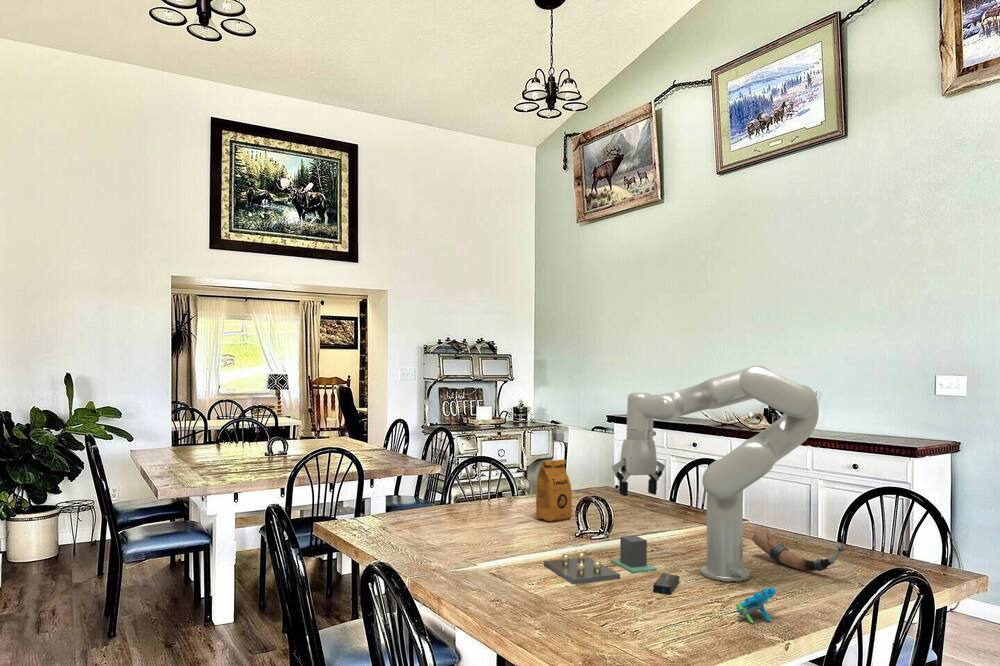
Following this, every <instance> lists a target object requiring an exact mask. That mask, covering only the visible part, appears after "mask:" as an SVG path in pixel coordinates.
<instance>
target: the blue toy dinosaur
mask: <svg viewBox="0 0 1000 666" xmlns="http://www.w3.org/2000/svg"><path fill="white" fill-rule="evenodd" d="M775 594H777V591H776V589H775V588H774V586H771V587H769V588H767V587H765V588H764V589H762V590H761V592H759V591H756V592H755V593H753V594H752V595H753V596H748V597H746V598H745V599H744V602H743V601H742V602H739V603H736V604H735V607H736V608H735V609H736V611H737V612H738V613H739V614H740V613H741V615H743V616H745V617H746V619H747V620H748V622H749V623H750V622H751V623H752V624H754V623H753V622H754V620H753V619H752V617H751V616H750V613H754V612H756V611H759V612H760V613H761V614H762V615H763V617H764V619H765V621H766V622H767V621H769V622H771V621H772V619H771V617H770V615H769V613H768V612H767V610H766V609H765V605H764V604H766V603H768V602H769V599H770V600H771V599H772V598H773V597H775ZM770 620H771V621H770ZM751 623H750V624H751Z"/></svg>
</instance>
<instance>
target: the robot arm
mask: <svg viewBox="0 0 1000 666" xmlns="http://www.w3.org/2000/svg"><path fill="white" fill-rule="evenodd" d="M754 399H755V400H757V401H758V402H760V403H762V404H764V405H766V406H768V407H771V408H772V409H775V410H777V411H779V412H781V413H783V414H782V416H780V417H779V418H778V419H777V420H776V421H774V422H773V423H771V424H770V425H769V426H768V427H766V428H765V429H763V430H762V431H760V432H759V433H758V434H756V435H753V436H752V437H751V438H750V437H749V438H747V439H746V440H745V441H743V442H742V443H741V444H739V445H738V446H737V447H736V448H734V449H732V450H731V451H730V452H729V453H726V454H725V455H724V456H722V457H721V458H719V459H716V460H714V461H713V462H711V463H710V464H709V465H708V466H707V468H706V469H705V470H704V472H703V474H702V487H703V489H704V491H705V492H706V564H705V565H703V566H701V568H700V574H701V575H702V576H703V577H706V578H708V579H711V578H712V580H715V579H716V581H720V580H722V581H721V582H731V581H736V582H743V580H744V581H747V580H748V579H749V578H750V575H751V574H752V571H751V569H748V568H746V562H745V561H744V543H743V541H744V536H743V535H744V534H743V533H744V531H743V530H744V525H743V524H744V522H743V521H744V512H743V511H744V490H745V489H747V488H748V487H750V486H751V485H753V484H754V483H756V482H758V481H759V480H760V479H762V478H763V477H765V476H766V475H767V474H768V473H769V472H770V471H772V469H773V468H774V466H775V464H776V463H777V462H778V461H779V460H781V459H782V458H784V457H786V456H787V455H789V454H790V453H791V452H793V451H794V450H795V449H796V448H798V447H800V445H802V444H803V443H804V442H806V441H807V439H809V438H810V437H811V435H812V434H813V432H814V431H815V428H816V426H817V424H818V421H819V414H820V413H819V403H818V402H819V401H818V397H817V393H815V391H814V389H812V387H809V386H807V385H805V384H800V383H798V382H796V381H794V380H792V379H788V378H787V377H785V376H782V375H780V374H778V373H776V372H774V371H772V370H770V369H769V368H767V367H766V366H763V365H752V366H751V365H750V366H749V367H747V368H743V369H739V370H737V371H732V372H729V373H726V374H721V375H718V376H715V377H711V378H708V379H706V380H704V381H702V382H700V383H699V384H696V385H692V386H690V387H689V386H688V387H685V388H682V389H679V390H676V391H672V392H666V393H661V394H660V393H659V394H651V393H648V392H647V393H646V392H631V393H629V394H628V396H627V410H626V412H627V413H626V439H623V441H622V445H621V453H620V458H619V461H618V462H616V463H615V464H614V465H612V466H611V470H612V472H613V474H614V476H615V477H616V478H617V480H618V482H619V483H618V485H619V489H618V490H619V494H620V495H621V496H624V497H627V496H628V495H629V494H628V492H629V490H628V489H629V483H628V481H627V480H628V479H629V478H630V476H647V475H648V477H649V479H648V483H647V485H648V486H647V491H648V493H649V494H651V495H654V496H655V495H657V490H658V481H659V480H660V477H661V476H662V475H663V472H664V470H665V468H666V465H665V464H664V463H661V462H660V461H658V460H657V449H656V442H655V440H654V437H655V436H656V435H657V433H656V431H655V430H654V419H655V420H661V421H670V420H673V419H676V418H679V417H683V416H687V415H690V414H694V413H697V412H702V411H705V410H716V409H720V408H724V407H729V406H731V405H735V404H739V403H743V402H747V401H750V400H754Z"/></svg>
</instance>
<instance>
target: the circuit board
mask: <svg viewBox="0 0 1000 666" xmlns="http://www.w3.org/2000/svg"><path fill="white" fill-rule="evenodd" d="M619 537H620V538H619V539H620V545H619V547H620V550H619V551H620V554H619V555H620V558H614V559H610V563H612V564H614V565H616V566H618V567H620V568H621V569H623V568H624V569H623V570H625V569H626V571H627V572H629V573H631V574H639V573H640V572H641V573H649V572H648V571H650V572H657V571H658V568H657V567H655V566H653V565H652V564H648V555H647V554H648V553H647V552H648V551H647V550H648V542H647V541H648V540H647V539H644V538H642V537H640V536H638V535H627V536H625V535H624V536H619ZM656 570H657V571H656Z"/></svg>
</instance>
